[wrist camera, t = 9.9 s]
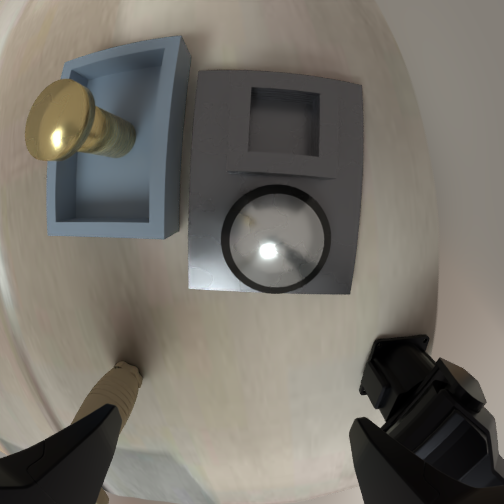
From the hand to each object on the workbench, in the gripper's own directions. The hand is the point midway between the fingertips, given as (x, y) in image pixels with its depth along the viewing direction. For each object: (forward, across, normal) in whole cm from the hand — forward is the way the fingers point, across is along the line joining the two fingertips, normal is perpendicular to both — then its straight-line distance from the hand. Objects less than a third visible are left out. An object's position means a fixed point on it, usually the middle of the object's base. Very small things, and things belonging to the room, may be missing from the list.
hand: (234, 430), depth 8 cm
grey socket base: (+13, -2, -9) cm, 16 cm away
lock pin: (+12, +10, -12) cm, 20 cm away
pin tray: (+13, +10, -12) cm, 20 cm away
